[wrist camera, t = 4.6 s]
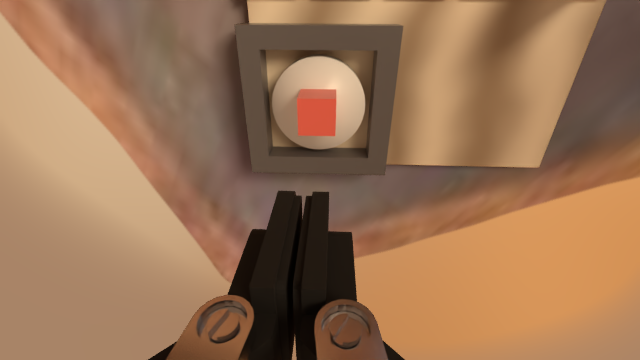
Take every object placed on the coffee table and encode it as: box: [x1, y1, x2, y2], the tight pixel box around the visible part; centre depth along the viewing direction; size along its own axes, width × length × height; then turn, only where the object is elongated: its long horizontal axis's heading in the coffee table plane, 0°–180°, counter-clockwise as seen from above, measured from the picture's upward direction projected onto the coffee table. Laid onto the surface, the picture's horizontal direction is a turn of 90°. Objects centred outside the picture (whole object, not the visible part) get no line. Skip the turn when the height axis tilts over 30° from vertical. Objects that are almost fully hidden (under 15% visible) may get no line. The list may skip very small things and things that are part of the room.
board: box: [247, 0, 606, 168], centre depth 22 cm, size 24×19×1 cm
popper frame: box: [235, 23, 403, 175], centre depth 24 cm, size 11×11×2 cm
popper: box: [272, 54, 365, 149], centre depth 23 cm, size 7×7×4 cm
